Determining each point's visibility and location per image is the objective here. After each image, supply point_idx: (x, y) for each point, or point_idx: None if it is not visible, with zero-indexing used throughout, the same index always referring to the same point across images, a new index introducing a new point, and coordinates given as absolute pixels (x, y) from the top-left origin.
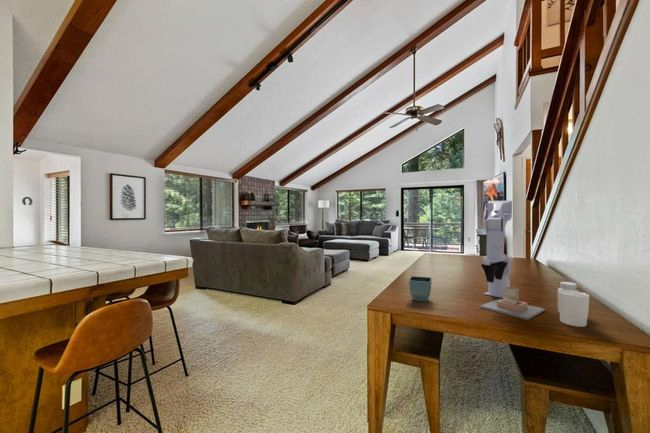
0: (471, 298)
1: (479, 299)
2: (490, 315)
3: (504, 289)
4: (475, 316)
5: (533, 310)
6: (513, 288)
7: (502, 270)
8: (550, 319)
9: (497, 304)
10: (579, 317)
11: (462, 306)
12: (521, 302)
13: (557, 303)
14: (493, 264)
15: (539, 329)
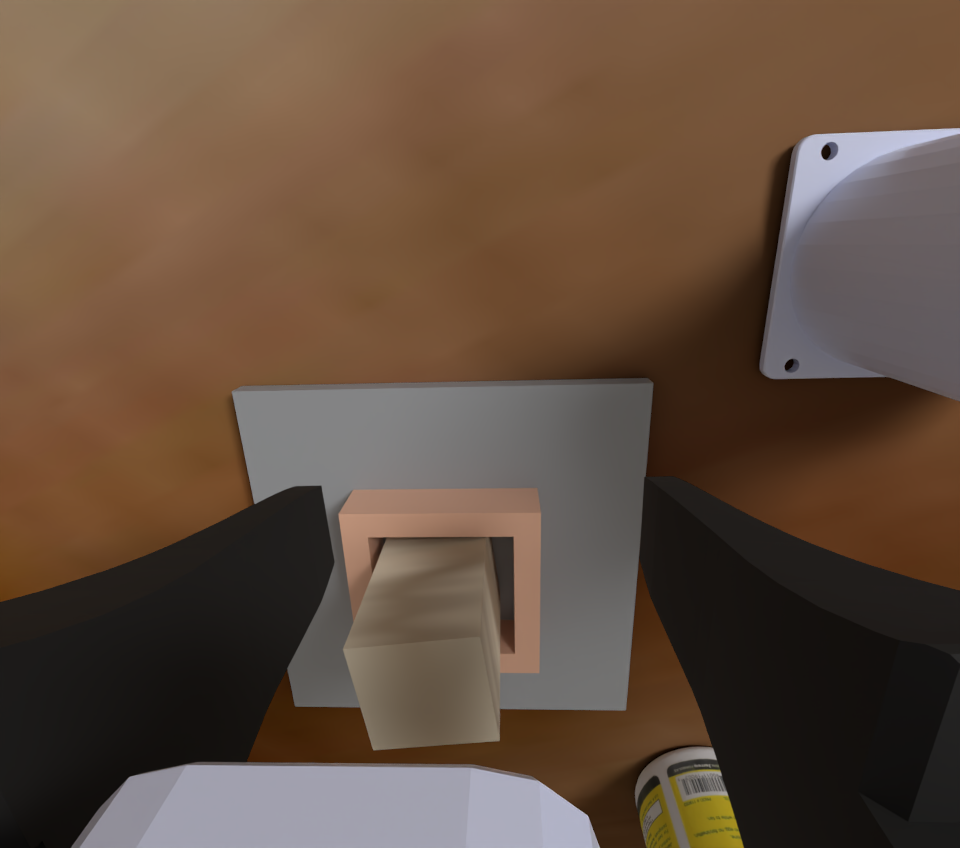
0: (472, 142)
1: (511, 228)
2: (146, 524)
3: (349, 653)
4: (11, 471)
5: (501, 681)
6: (460, 709)
7: (714, 731)
8: (443, 757)
9: (347, 503)
10: None
11: (113, 259)
12: (515, 639)
13: (700, 803)
14: (827, 651)
15: None
